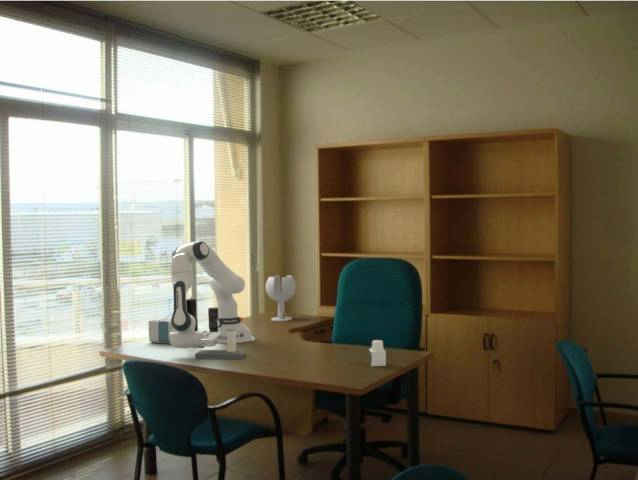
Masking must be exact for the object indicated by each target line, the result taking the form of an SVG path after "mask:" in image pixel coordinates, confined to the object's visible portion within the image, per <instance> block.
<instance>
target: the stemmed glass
mask: <svg viewBox="0 0 638 480" xmlns="http://www.w3.org/2000/svg"><path fill="white" fill-rule="evenodd" d="M296 287H297V283H296V281H295V279H294V277H293V276H292V275H290V274H289V275H286V276H284V277H281V278H280V275H277V274H276V275H270V276H269V277H268V278H267V280H266V282H265V291H266V294H267V296H268V297H269V298H270V299H271V300H273V301H275V302H277V317H271V319H270V321H272V322H287V321H288V322H289V321H292V319H293V317H290V316H286V310H285V309H286V306H285V303H286V302H287V301H289V300H290V299H291V298H293V296H294V294H295V293H296V289H297V288H296Z"/></svg>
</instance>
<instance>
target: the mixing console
mask: <svg viewBox="0 0 638 480" xmlns="http://www.w3.org/2000/svg"><path fill="white" fill-rule="evenodd" d="M245 355H246V349H236V351H235V352H227V349H200V350H198V351H197V352H196V353H195V354H194V359H195V360H242V359H243V358H244V357H245Z"/></svg>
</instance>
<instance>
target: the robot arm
mask: <svg viewBox="0 0 638 480" xmlns="http://www.w3.org/2000/svg"><path fill="white" fill-rule="evenodd" d="M171 253H172V254H171V263H170V264H171V265H170V267H171V268H170V272H171V273H170V275H171V276H170V277H171V284H172V291H173V312H172V314H173V315H171V318H170V319H171V324H172V326H173V328H174V329H173V330H172V332H171V333H170V334H169V341H170V346H172V348H177V349H189V348H192V349H204V348H205V347H206V348H207V347H209V348H210V347H211V348H212V347H215V346H216V345H219V344H227V329H228V328H236V344H242V343H246V342H254V341H256V338H255V337H254V336H252V333H251V329H250V328H249V327H247V326H246V325H245V324H243V323H242V322H244V318H243V317H242V316H241V317H240V316H238V303H237V301H236V300H235V298H234V296H233V295H235V294H240V293H242V292H243V291H244V290H245V288H246V283H245V280H244V278H243V277H241V276H239V274H237V273H235V272H234V271H233V270H232V269H231V267H228V266H227V265H226V263H224V262H223V261H222V259H221V258H220V256H219V255H218V254H217V252H216V251H215V250H214V249H213V248H212V247H211V246H210V245H208V244H207V243H206V242H205V241H203V240H196V241H193V242H189V243H186V244H183V245H181V246H178V247H176V248H175V249H174V250H173V251H172V252H171ZM197 262H198V264H199V266H200V267H201V268H202V270H204V271H205V273H206V274H207V276H209V278H210V281H209V286H210V289H212V291H213V292H214V295H215V298H216V302H217V307H218V320H217V324H218V332H210V331H208V330H198V331H195V326H196V320H195V318H194V317H193V316H192V315H190V314H189V313H188V312H187V308H186V300H187V292H188V291H189V290H190V289H191V288H192V286H193V279H194V276H193V268H192V264H194V263H197Z"/></svg>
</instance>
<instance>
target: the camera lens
mask: <svg viewBox="0 0 638 480" xmlns="http://www.w3.org/2000/svg"><path fill="white" fill-rule="evenodd" d="M207 313H208V316H207V317H208V329H209V332H218V324H217V320H218V306H217V307H216V306H215V307H208V312H207Z"/></svg>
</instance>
